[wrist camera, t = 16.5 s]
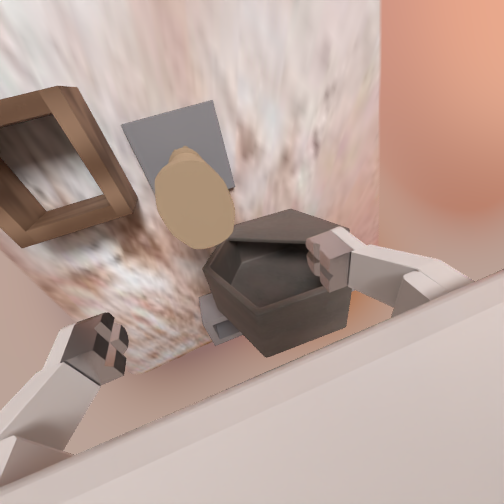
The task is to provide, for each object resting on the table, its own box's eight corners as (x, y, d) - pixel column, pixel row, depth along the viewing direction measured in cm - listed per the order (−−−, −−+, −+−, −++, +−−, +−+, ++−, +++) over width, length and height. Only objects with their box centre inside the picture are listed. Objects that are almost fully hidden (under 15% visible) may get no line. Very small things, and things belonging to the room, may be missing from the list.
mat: (122, 124, 25) (120, 125, 24) (211, 100, 26) (212, 100, 25) (162, 207, 31) (162, 209, 30) (233, 184, 32) (235, 186, 31)
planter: (348, 208, 34) (357, 329, 18) (343, 249, 38) (347, 374, 23) (240, 209, 39) (178, 303, 24) (248, 245, 44) (200, 344, 28)
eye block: (-54, 119, 21) (-106, 125, 17) (77, 87, 22) (57, 85, 18) (42, 226, 28) (21, 248, 24) (137, 197, 29) (132, 213, 25)
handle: (178, 191, 29) (186, 258, 17) (151, 139, 25) (137, 178, 14) (213, 177, 30) (244, 233, 18) (192, 123, 26) (213, 148, 14)
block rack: (198, 297, 41) (202, 323, 36) (341, 244, 44) (361, 262, 40) (210, 319, 45) (215, 345, 40) (340, 269, 48) (358, 288, 44)
